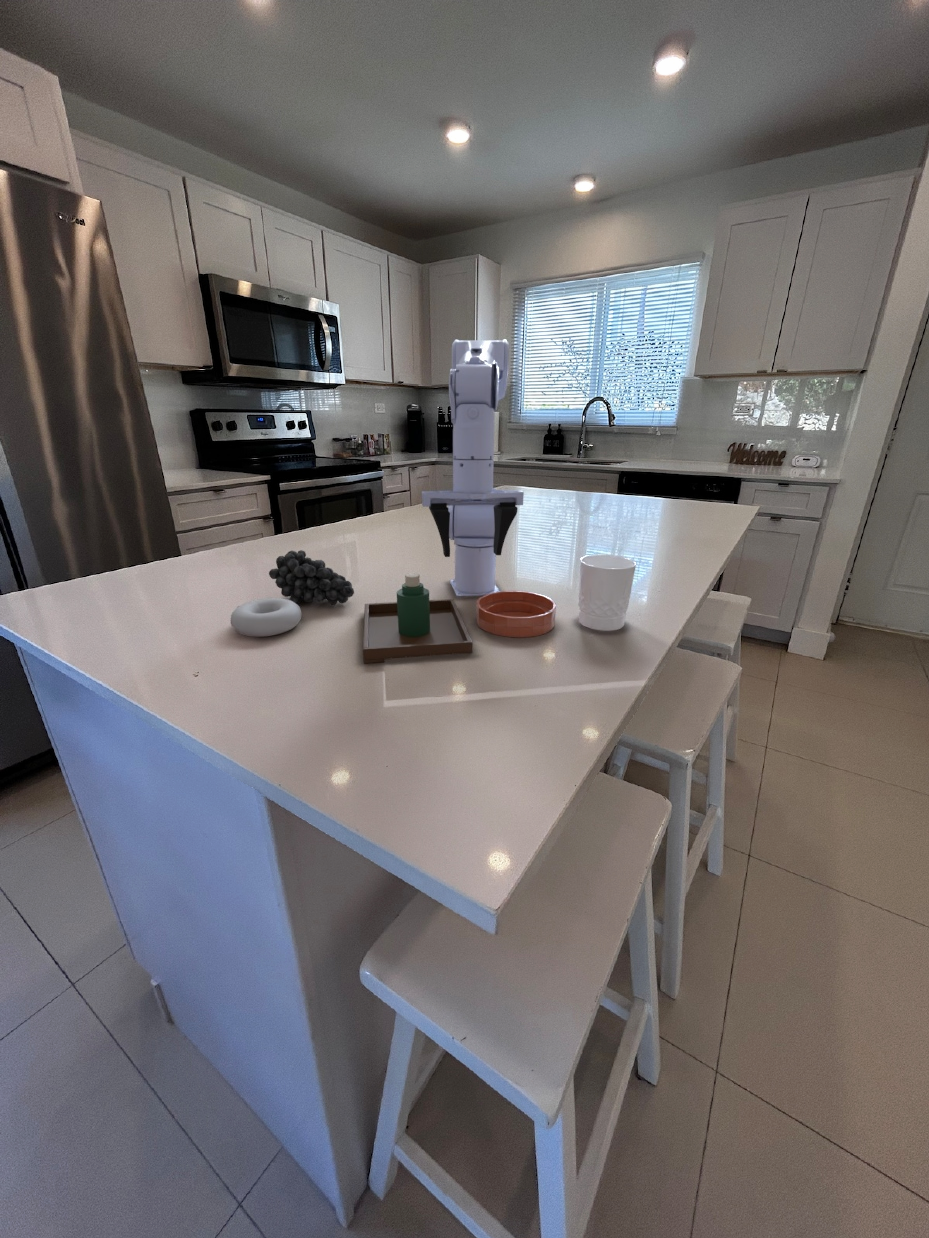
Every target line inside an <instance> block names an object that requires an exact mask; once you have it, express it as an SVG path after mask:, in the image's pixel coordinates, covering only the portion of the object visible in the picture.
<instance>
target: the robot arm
mask: <svg viewBox="0 0 929 1238" xmlns="http://www.w3.org/2000/svg"><path fill="white" fill-rule="evenodd" d="M451 344H452V345H451V368H450V369H449V374H448V400H449V405H450V420H451V424H452V425H453V426H452V427H453V429H452V489H450V490H424V491H423V490H422V491H421V505H422V507H426V508H428V509H429V511H430V513H431V516H432V518H433V520H434V522H435V525H436V528H437V530H438V534H439V537H440V541H441V545H442V553H443V556H444V557H445V558H450V557H451V544H450V543H451V542H450V541H453V545H454V546H455V548H454V579H450V580H449V583H450V585H451V587H452V588H453V591H454V594H455V596H456V597H474V596H475V597H476V596H484V595H487V594H489V593H494V592H500V591H501V590H500V589H499V588H498V587H497V585H496V571H497V570H496V566H497V564H496V563H497V556H502V552H503V547H504V543H505V541H506V537H507V535H508V532H509V530H510V527H511V525H512V524H513V521H514V519H515V518H516V517H517V514H518V507H517V506H523V505H524V494H525V492H524V491H523V490H521V489H520V490H519V489H517V490H516V489H515V490H513V489H496V488H494V466H495V465H494V460H495V458H494V457H495V422H496V413H495V411H497V409H498V405H499V401H500V400H502V399H503V398H505V397H506V391H507V388H508V377H509V360H510V357H509V356H510V343H509V341H507V339H506V338H504V339H502V340H501V339H498V340H497V339H496V340H495V339H491V340H489V339H488V340H487V339H486V340H485V339H483V340H481V339H480V340H473V339H471V340H465V339H464V340H459V339H454V341H453V342H452V343H451Z"/></svg>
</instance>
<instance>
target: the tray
mask: <svg viewBox="0 0 929 1238" xmlns="http://www.w3.org/2000/svg"><path fill="white" fill-rule="evenodd" d="M429 605H430V632H429V633H428V634H426V635H424V636H419V637H407V636H403V635H401V634H400V633H399V632H398V612H397V601H389V602H370V603H364V613H363V614H364V616H363V637H362V639H363V640H362V655H363V664H374V663H385V660H389V659H403V658H416V657H417V658H418V657H419V658H420V657H431V656H432V657H434V656H447V655H448V656H449V655H461V654H472V653H473V645H474V643H473V640H472V638H471V636H470V633H469V631H468V628H467V627H466V624H465V622H464V620H463V617H462V614H460V611H459V608H458V607H457V604H456V601H455V599H454V598H448V599H447V598H446V599H445V598H444V599H429Z"/></svg>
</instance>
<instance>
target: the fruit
mask: <svg viewBox="0 0 929 1238" xmlns="http://www.w3.org/2000/svg"><path fill="white" fill-rule="evenodd" d="M275 563H276V567H275V568H271V569H270V570H269V571H268V575H269V577H270V578H271V579H272V580H275V581H274V583H275V585H276V587H278V588H279V589H281V590H280V591H281V593H280V594H281V595H282V596H283V597H285V598H289V597H290V599H289V600H290V601H293V602H294V603H296V604H297V605H298V604H301V603H302V601H304V602H305V603H312V602H313V600H316V601H317V602H323V601H325V600H326V602H327V603H328V605H330V606H336V605H337V604H338V603H339V604H345V603H347V602H348V601H349V598H351V597H353V596H354V595H355V590H354V589H355V588H353V584H352V582H351V581H349V580H347V579H346V577H345V576H343V575H341V574H339V573H338V572H334V570H333V569H332V568H330V567H326V563H325V560H322V559H315V560H312V558H311V557H308V556H307V553H306V551H304V550H298V551H296V550H290V551H288V552H287V553H286V554H285V555H279V556H278V557H277V558H276V559H275Z"/></svg>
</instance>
